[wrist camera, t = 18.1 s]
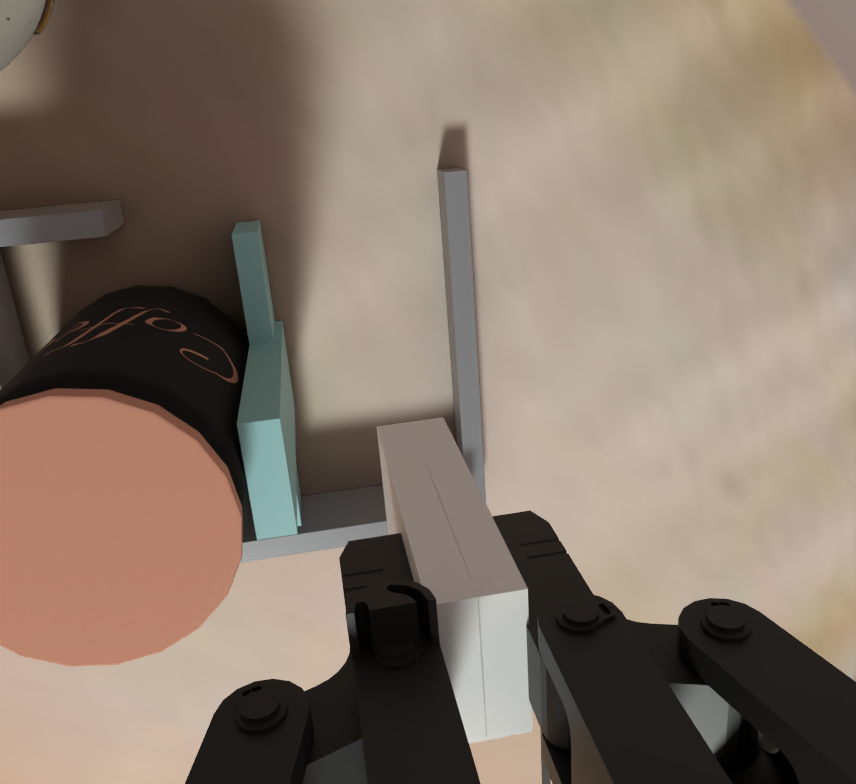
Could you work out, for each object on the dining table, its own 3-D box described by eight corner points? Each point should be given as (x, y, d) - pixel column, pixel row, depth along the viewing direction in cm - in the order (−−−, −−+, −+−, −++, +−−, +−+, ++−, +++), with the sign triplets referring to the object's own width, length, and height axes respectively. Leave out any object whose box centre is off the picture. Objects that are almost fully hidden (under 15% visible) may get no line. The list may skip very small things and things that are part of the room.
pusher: (236, 222, 42) (211, 279, 28) (267, 219, 42) (257, 274, 28) (280, 494, 47) (276, 653, 33) (307, 490, 47) (314, 646, 34)
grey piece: (-36, 214, 40) (-74, 226, 35) (459, 167, 43) (477, 174, 39) (58, 550, 46) (35, 594, 42) (478, 488, 50) (496, 523, 45)
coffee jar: (276, 301, 44) (268, 422, 27) (243, 475, 47) (218, 681, 30) (69, 261, 41) (-80, 366, 24) (50, 447, 44) (-95, 654, 28)
